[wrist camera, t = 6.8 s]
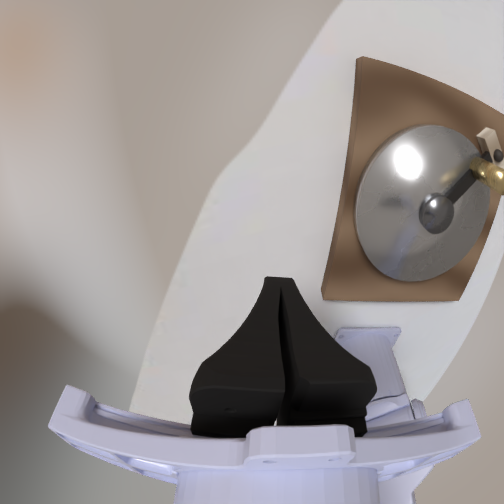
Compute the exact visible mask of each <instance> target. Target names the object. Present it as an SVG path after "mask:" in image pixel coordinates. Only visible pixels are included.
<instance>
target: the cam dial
mask: <svg viewBox="0 0 504 504" xmlns="http://www.w3.org/2000/svg"><path fill="white" fill-rule="evenodd" d="M492 162H493V160H492V158H491V155H490V153H489V152H488V151H485V152H484V153H483V154H482V156H481V154H480V153H479V151H478V150H477V148H476V147H475V146H474V144H473V143H472V142H471V141H470V140H469V139H468V138H466V137H465V136H464V135H462V134H461V133H459V132H457V131H455V130H453V129H450V128H446V127H443V126H439V125H435V124H417V125H413V126H409V127H406V128H404V129H401V130H399V131H397V132H396V133H394V134H393V135H391V136H390V137H388V138H387V139H386V140H385V141H384V142H382V143H381V144H380V146H379V147H378V148H377V149H376V150H375V151H374V152H373V154H372V155H371V157H370V158H369V159H368V161H367V163H366V165H365V167H364V168H363V170H362V173H361V175H360V178H359V180H358V183H357V187H356V191H355V196H354V203H353V217H354V226H355V230H356V234H357V237H358V239H359V242H360V244H361V246H362V248H363V250H364V251H365V253H366V255H367V257H368V259H369V260H370V261H371V262H372V264H373V265H374V266H375V267H376V268H377V269H378V270H379V271H381V272H382V273H384V274H385V275H387V276H389V277H391V278H393V279H397V280H401V281H408V282H411V281H423V280H427V279H431V278H434V277H436V276H438V275H441V274H442V273H444V272H446V271H448V270H449V269H451V268H452V267H454V266H455V265H456V264H457V263H458V262H460V261H461V260H462V259H463V258H464V257H465V256H466V255H467V253H468V252H469V251H470V250H471V248H472V247H473V246H474V244H475V242H476V241H477V239H478V237H479V236H480V234H481V232H482V229H483V227H484V224H485V221H486V218H487V215H488V210H489V204H490V188H491V189H493V190H494V191H496V192H497V193H499V194H501V195H504V169H503V168H501V167H499V166H497V165H495V164H493V163H492Z"/></svg>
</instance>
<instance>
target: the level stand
mask: <svg viewBox="0 0 504 504" xmlns="http://www.w3.org/2000/svg"><path fill="white" fill-rule="evenodd" d="M417 124H435V125H439V126H443V127H446V128H450V129H453V130H455V131H457V132H459V133H461V134H462V135H464V136H465V137H466V138H468V139H469V140H470V141H471V142H472V143H473V144H474V146H475V147H476V148H477V150H478V151H479V153H480V154H481V156H482V154H483V153H484V152H485V151H488V152H489V153H490V155H491V158H492V160H493V162H492V163H493V164H495V165H497V166H499V167H501V168H503V169H504V115H503V114H502V113H500V112H498V111H497V110H495V109H493V108H492V107H490V106H488V105H486V104H485V103H483V102H481V101H479V100H477V99H475V98H474V97H472V96H470V95H468V94H466V93H464V92H462V91H460V90H457V89H455V88H453V87H451V86H449V85H446V84H444V83H442V82H439V81H437V80H435V79H432V78H430V77H427V76H425V75H422V74H419V73H417V72H414V71H411V70H408V69H405V68H402V67H399V66H396V65H393V64H389V63H386V62H383V61H379V60H375V59H372V58H368V57H364V56H362V57H360V58H357V59H356V70H355V84H354V96H353V107H352V117H351V126H350V134H349V142H348V150H347V157H346V164H345V171H344V177H343V183H342V190H341V195H340V201H339V207H338V212H337V217H336V223H335V228H334V233H333V238H332V243H331V247H330V252H329V257H328V261H327V265H326V270H325V274H324V278H323V283H322V287H321V292H322V297H323V300H344V301H459V299H460V297H461V296H462V294H463V292H464V290H465V288H466V286H467V284H468V282H469V280H470V277H471V275H472V273H473V271H474V269H475V267H476V264H477V262H478V260H479V257H480V255H481V253H482V250H483V248H484V245H485V243H486V240H487V237H488V235H489V232H490V229H491V226H492V224H493V221H494V218H495V215H496V211H497V208H498V205H499V201H500V198H501V194H499V193H497V192H496V191H494V190H493V189H491V188H490V204H489V210H488V215H487V218H486V221H485V224H484V227H483V229H482V232H481V234H480V236H479V237H478V239H477V241H476V242H475V244H474V246H473V247H472V248H471V250H470V251H469V252H468V253H467V255H466V256H465V257H464V258H463V259H462V260H461V261H460V262H458V263H457V264H456V265H455V266H454V267H452V268H451V269H449V270H448V271H446V272H444V273H442V274H441V275H438V276H436V277H434V278H431V279H427V280H423V281H411V282H408V281H401V280H397V279H393V278H391V277H389V276H387V275H385V274H384V273H382V272H381V271H379V270H378V269H377V268H376V267H375V266H374V265H373V264H372V262H371V261H370V260H369V259H368V257H367V255H366V253H365V251H364V250H363V248H362V246H361V244H360V242H359V239H358V237H357V234H356V230H355V226H354V217H353V203H354V196H355V191H356V187H357V183H358V180H359V178H360V175H361V173H362V170H363V168H364V167H365V165H366V163H367V161H368V159H369V158H370V157H371V155H372V154H373V152H374V151H375V150H376V149H377V148H378V147H379V146H380V144H381V143H382V142H384V141H385V140H386V139H387V138H388V137H390V136H391V135H393V134H394V133H396V132H397V131H399V130H401V129H404V128H406V127H409V126H413V125H417Z"/></svg>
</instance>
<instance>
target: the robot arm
mask: <svg viewBox="0 0 504 504" xmlns="http://www.w3.org/2000/svg"><path fill="white" fill-rule="evenodd" d="M400 333H401V328H399V327H396V328H342V329H339V330H338V332H337V334H336V337H335V340H334V339H333V338H332V337H331V336H330V335H329V333H328V332H327V331H326V330H325V329H324V328H323V327H322V325H321V324H320V323H319V322H318V320H317V319H316V318H315V316H314V315H313V313H312V312H311V310H310V309H309V307H308V306H307V304H306V302H305V301H304V299H303V297H302V296H301V294H300V292H299V290H298V288H297V286H296V284H295V282H294V280H293V279H292V278H283V277H268V276H267V277H266V278H264V284H263V288H262V290H261V293H260V295H259V297H258V299H257V301H256V303H255V305H254V307H253V309H252V310H251V312H250V314H249V315H248V317H247V318H246V320H245V321H244V323H243V324H242V325H241V327H240V328H239V329H238V330H237V331H236V333H235V334H234V335H233V336H232V337H231V338H230V339H229V340H228V341H227V342H226V343H225V344H224V345H223V346H222V347H221V348H220V349H219V350H218V351H216V352H215V353H214V354H213V355H211V356H210V357H209V358H207V359H206V360H205V361H203V362H202V364H201V365H200V367H199V369H198V371H197V373H196V375H195V377H194V379H193V382H192V385H191V389H190V393H189V400H190V403H191V406H192V409H193V412H194V413H193V418H192V423H191V425H188V424H182V423H176V422H171V421H166V420H161V419H157V418H152V417H148V416H144V415H140V414H136V413H132V412H128V411H125V410H121V409H118V408H114V407H111V406H108V405H105V404H102V403H99V402H96V401H95V399H94V398H93V396H92V395H91V394H90V393H88V392H86V391H84V390H81V389H78V388H76V387H73V386H71V385H66V387H65V389H64V391H63V393H62V395H61V397H60V399H59V402H58V404H57V406H56V408H55V410H54V413H53V415H52V417H51V419H50V422H49V424H48V427H49V428H50V429H51V430H52V431H53V432H55V433H56V434H57V435H58V436H60V437H61V438H62V439H63V440H65V441H66V442H67V443H68V444H70V445H71V446H73V447H74V448H76V449H78V450H81V451H83V452H85V453H87V454H90V455H92V456H94V457H97V458H99V459H102V460H104V461H106V462H109V463H112V464H114V465H116V466H119V467H122V468H124V469H127V470H130V471H133V472H136V473H139V474H142V475H145V476H148V477H151V478H154V479H158V480H162V481H165V482H169V483H173V484H177V487H176V493H175V499H174V504H416V500H415V494H414V490H415V489H416V488H417V487H418V486H419V484H420V483H421V482H422V481H423V480H424V479H425V477H426V476H427V475H428V474H429V473H430V472H431V470H432V469H433V467H434V464H437V463H439V462H442V461H444V460H447V459H449V458H452V457H454V456H455V455H457V454H458V453H460V452H461V451H463V450H464V449H466V448H467V447H469V446H470V445H472V444H473V443H475V442H476V441H477V440H479V439H480V438H481V434H480V431H479V428H478V425H477V422H476V419H475V416H474V413H473V410H472V408H471V405H470V402H469V400H468V399H465V400H462V401H458V402H455V403H452V404H451V405H449V406H448V407H446V408H445V409H444V410H443V412H442V413H438V414H434V415H430V416H427V415H426V412H425V408H424V405H423V402H422V401H420V400H417V399H414V400H411V402H412V406H413V409H412V406H411V403H410V400H409V397H408V395H407V393H406V389H405V386H404V383H403V380H402V377H401V373H400V370H399V367H398V364H397V361H396V358H395V356H394V353H393V350H392V347H393V346H394V344H395V342H396V340H397V339H398V337H399V335H400ZM413 412H414V413H413ZM276 419H277V425H276V426H274V422H275V421H276Z"/></svg>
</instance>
